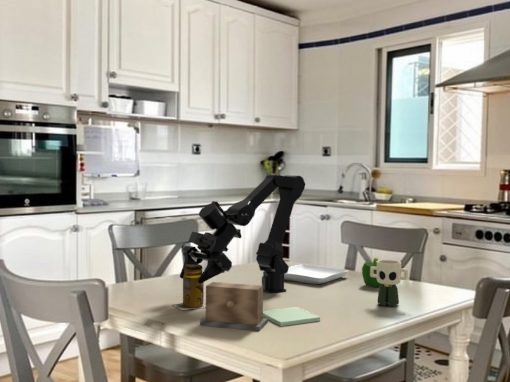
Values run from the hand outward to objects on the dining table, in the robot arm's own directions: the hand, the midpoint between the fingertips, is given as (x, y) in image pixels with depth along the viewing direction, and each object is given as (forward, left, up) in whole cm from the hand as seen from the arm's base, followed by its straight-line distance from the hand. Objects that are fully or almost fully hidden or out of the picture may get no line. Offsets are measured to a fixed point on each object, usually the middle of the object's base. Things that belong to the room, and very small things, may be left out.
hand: (189, 280), depth 166 cm
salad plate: (-54, -20, -8) cm, 59 cm away
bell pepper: (-67, 0, -8) cm, 68 cm away
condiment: (0, 0, -8) cm, 8 cm away
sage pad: (-20, +23, -8) cm, 32 cm away
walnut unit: (-4, +22, -8) cm, 24 cm away
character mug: (-54, +23, -8) cm, 59 cm away
